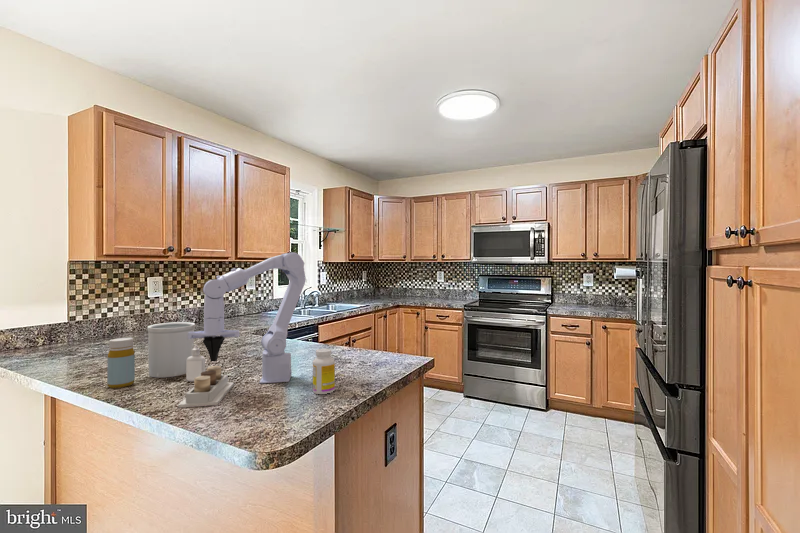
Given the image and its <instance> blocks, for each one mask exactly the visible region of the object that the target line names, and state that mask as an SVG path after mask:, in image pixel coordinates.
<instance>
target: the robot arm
mask: <svg viewBox="0 0 800 533" xmlns="http://www.w3.org/2000/svg"><path fill="white" fill-rule="evenodd" d="M273 269H274V270H275V269H276V270H281V271H282V272H283V273H285V275H286V277H287V279H288V281H289V283H288V285H287V288H286V290H285V293H284V295H283V298H282V300H281V303H280V305H279V306H278V307H279V308H278V310H277V313H276V314H275V318H274V320H273V322H272V324H271V325H270V326H269V327H268V330H267V332H265V334H264V335H263V336H262V338H261V342H260V343H261V346H262V348H263V349H264V350H263V351H262V353H261V356H262V359H261V360H262V362H261V363H262V364H261V365H262V366H261V368H262V370H261V373H262V374H261V376H262V377H261V378H260V380H259V383H258V384H270V383H271V384H272V383H286V382H287V383H288V382H290V380H291V377H292V372H293V371H292V354H291V352H285V350H286V348H287V339H288V338H287V337H288V328H289V324H290V323H291V319H292V318H293V314H294V312H295V309H296V307H297V305H298V301H299V299H300V296H301V294H302V291H303V289H304V287H305V284H306V272H305V262H304V260H303V259H302V257H301V255H300V254H298V253H297V252H293V251H291V252H289V253H288V252H287V253H281V254H279V255H275V256H271V257H268V258H266V259H264V260H263V261H260V262H258V263H256V264H254V265H252V266H250V267H248V268H245V269H242V268H241V267H238V268H235V267H232V268H231V269H230V271H229V272H226V273H225V274H222V275H216V279H209V280H208V281H206V282H205V284H204V285H203V287H202V291H203V293H204V299H203V300H204V304H203V330H198V331H194V332H189V333H188V339H192V338H194V339H203V340H202V343H203V344H204V346H205V348H206V350H207V352H208V355H209V359H210V362H217V361H218V358H219V354H220V353H219V352H220V351H221V348H222V345H223V343H224V341H225V339H226V338H239V337H240V330H239V329H237V330H236V329H235V330H234V329H233V330H232V329H228V330H227V329H225V302H224V296H225V294H226V292H227V293H230V292H232V291H234V290H236V289H239V288H240V287H243V286H245V285H247V284H248V282H249V281H250V279H251V278H253V277H256V276H257V275H260V274H262V273H265V272H267V271H269V270H273Z"/></svg>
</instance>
